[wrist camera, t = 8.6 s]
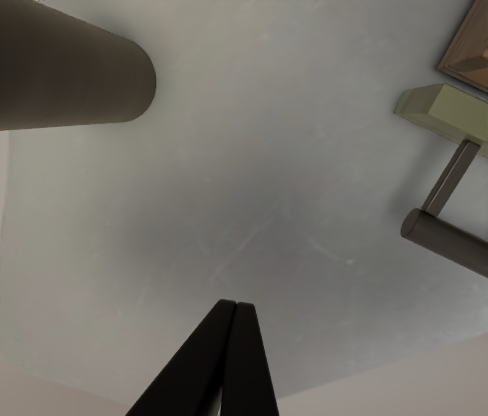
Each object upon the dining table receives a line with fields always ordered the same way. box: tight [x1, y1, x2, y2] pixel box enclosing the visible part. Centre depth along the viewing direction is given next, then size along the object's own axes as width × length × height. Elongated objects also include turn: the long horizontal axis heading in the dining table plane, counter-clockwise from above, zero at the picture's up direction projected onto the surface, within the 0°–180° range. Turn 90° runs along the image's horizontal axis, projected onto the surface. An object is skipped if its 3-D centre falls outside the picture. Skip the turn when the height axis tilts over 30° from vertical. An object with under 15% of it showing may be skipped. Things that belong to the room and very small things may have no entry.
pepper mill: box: [0, 0, 156, 131], centre depth 16 cm, size 4×4×13 cm
